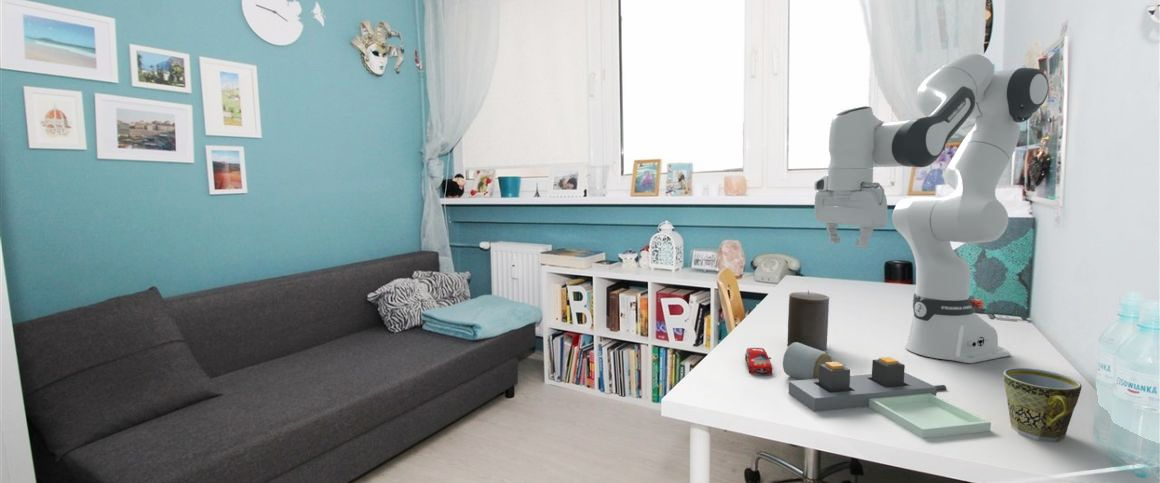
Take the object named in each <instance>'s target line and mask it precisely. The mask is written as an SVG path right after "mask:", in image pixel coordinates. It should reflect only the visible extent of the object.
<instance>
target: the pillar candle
mask: <svg viewBox="0 0 1160 483" xmlns="http://www.w3.org/2000/svg"><path fill="white" fill-rule="evenodd" d="M788 296H789V297H788V298H789V299H788V315H787V316H788V320H787V343H786V344H787V347H789V346H790V345H791V344H792V343H795V342H798V343H801V344H804V345H806V346H809V347H812V348H815V349H818V350H821V351H823V352H825V351H826V350H827V348H828V330H829V327H828V326H829V310H830V309H829V306H830V296H827V295H826V294H822V293H817V292H810V291H809V290H807V291H797V292H796V291H795V292H791V293H789V295H788Z"/></svg>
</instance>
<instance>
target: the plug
mask: <svg viewBox="0 0 1160 483" xmlns="http://www.w3.org/2000/svg"><path fill="white" fill-rule="evenodd" d="M905 367H906V366H905V364H904V363H901V362H899V360H897V359H895V358H893V357H890V356H888V357H878V359H872V364H871V374H872V381H873V382H875V383H877V384H879V385H881V386H883V387H885V388H889V387H900V386H904V372H905Z"/></svg>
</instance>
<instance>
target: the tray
mask: <svg viewBox="0 0 1160 483" xmlns="http://www.w3.org/2000/svg"><path fill="white" fill-rule="evenodd" d="M868 408H871V410H874V411H875V412H877V413H879V414H881V415H883V416H884V417H886V418H887V419H888V420H891V421H892V422H894V423H896V424H898V425H899V426H901V427H903V428H905V429H906V430H908V431H909V432H911V433H913V434H915V435H916V436H918V437H919V438H921V439H927V438H935V437H937V438H938V437H946V436H955V435H956V436H957V435H965V434H974V433H983V432H991V426H992V425H991V424H992V422H991V421H989V420H987V419H985V418H982V417H980V415H979V416H978V415H976V414H974V413H972V412H970V411H968V410H966V409H964V408H962V407H960V406H958V405H955V404H954V403H952V402H949V401H947V400H945V399H944V398H941V397H939V396H937V395H936V396H935V395H933V394H931V393H926V394H916V395H905V396H894V397H883V398H873V399H869V407H868Z"/></svg>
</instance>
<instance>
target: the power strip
mask: <svg viewBox="0 0 1160 483" xmlns="http://www.w3.org/2000/svg"><path fill="white" fill-rule="evenodd" d="M940 391H947V386H946V385H945V384H939V385H933V384H932V383H928V382H926V381H925V380H922V379H920V378H918V377H916V376H914V375H911V374H908V373H907V372H905V371H904V386H900V387H889V388H885V387H883V386H881V385H879V384H877V383H875V382H873V381H872V373H868V374H857V375H851V369H850V368H848V367H846V366H845V365H844V364H842V363H840V362H837V361H832V362H825V364H819V379H807V380H801V379H798V380H788V394H789V395H790V396H791V397H793V398H794V399H796V400H797V401H799V402H800V403H802V404H803V405H804V406H806V407H807V408H808V409H810V410H811V411H813V412H815V413H817V412H826V411H835V410H836V411H837V410H848V409H857V408H858V409H859V408H870V407H869V399H873V398H883V397H894V396H905V395H916V394H926V393H931V394H933V395H935V396H937V392H940Z"/></svg>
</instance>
